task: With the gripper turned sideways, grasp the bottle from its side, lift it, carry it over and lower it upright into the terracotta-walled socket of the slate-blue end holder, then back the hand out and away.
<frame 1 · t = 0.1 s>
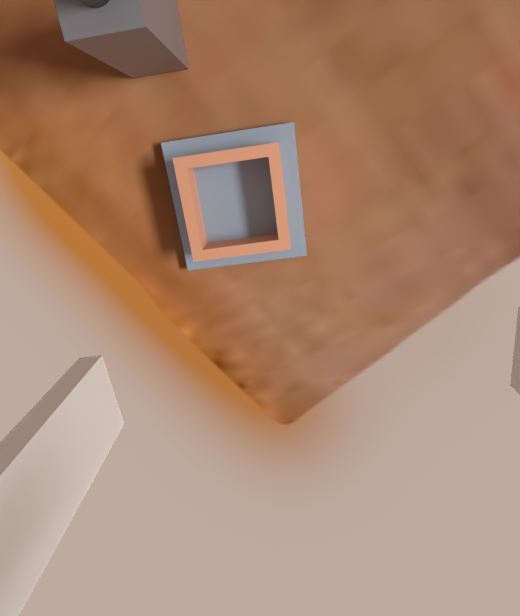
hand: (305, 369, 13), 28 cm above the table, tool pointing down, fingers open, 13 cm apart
bottle: (154, 40, 33), on the table
end holder: (237, 200, 38), on the table
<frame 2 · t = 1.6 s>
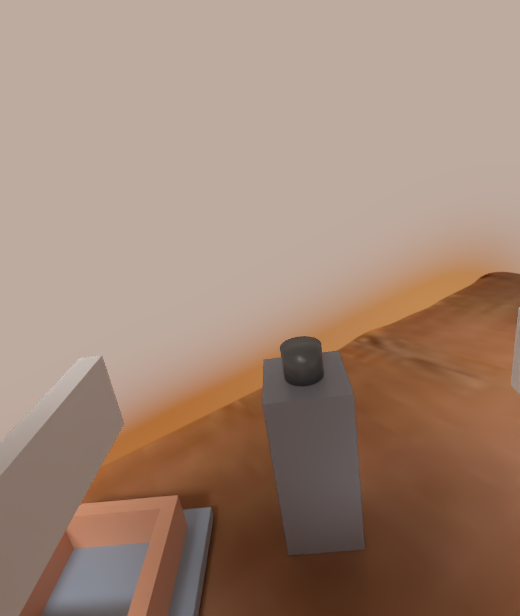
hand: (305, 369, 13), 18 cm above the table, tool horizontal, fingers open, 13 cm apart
bottle: (321, 519, 28), on the table
end holder: (106, 608, 24), on the table
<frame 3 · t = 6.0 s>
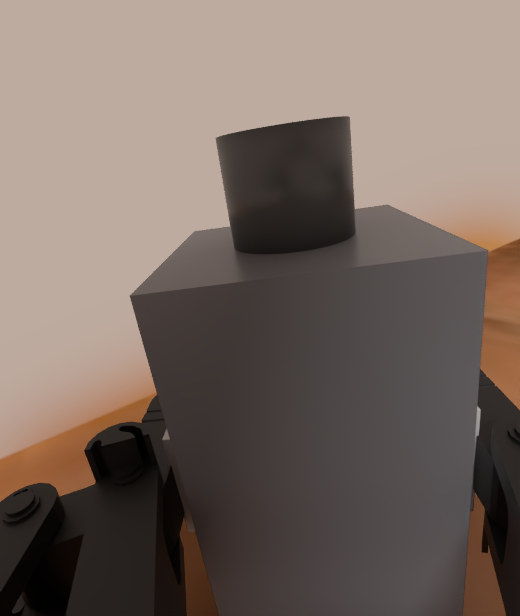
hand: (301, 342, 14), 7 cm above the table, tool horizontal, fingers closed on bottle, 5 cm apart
when the fingers open (9 cm above the table, at t = 10.5 s): bottle drops 1 cm, resting on end holder.
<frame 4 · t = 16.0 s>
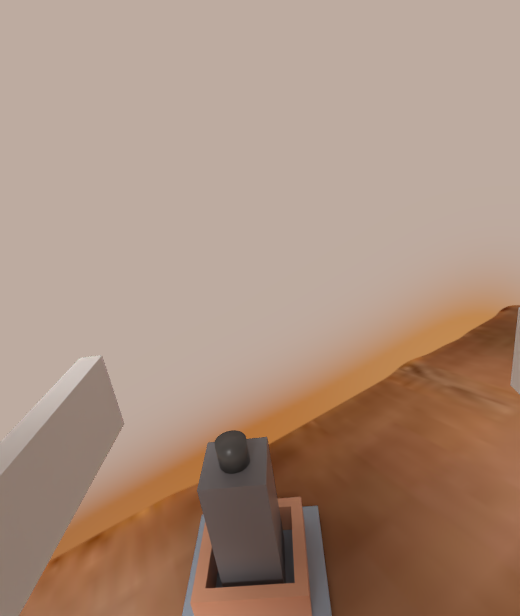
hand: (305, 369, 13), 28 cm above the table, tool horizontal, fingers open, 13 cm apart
bottle: (256, 568, 35), point 1 cm above the table, touching end holder
end holder: (258, 575, 35), on the table
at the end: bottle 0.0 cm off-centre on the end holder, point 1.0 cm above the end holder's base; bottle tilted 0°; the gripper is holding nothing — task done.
